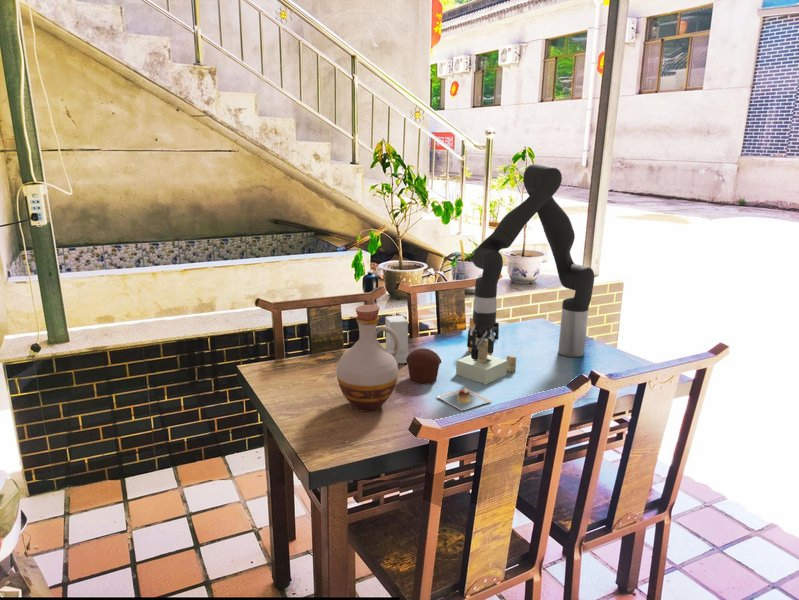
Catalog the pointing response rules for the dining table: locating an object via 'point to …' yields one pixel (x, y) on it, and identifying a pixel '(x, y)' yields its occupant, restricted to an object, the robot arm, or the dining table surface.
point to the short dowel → (511, 363)
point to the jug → (368, 364)
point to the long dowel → (483, 352)
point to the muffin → (423, 366)
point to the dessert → (464, 397)
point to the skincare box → (401, 330)
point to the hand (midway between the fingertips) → (482, 355)
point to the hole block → (481, 369)
